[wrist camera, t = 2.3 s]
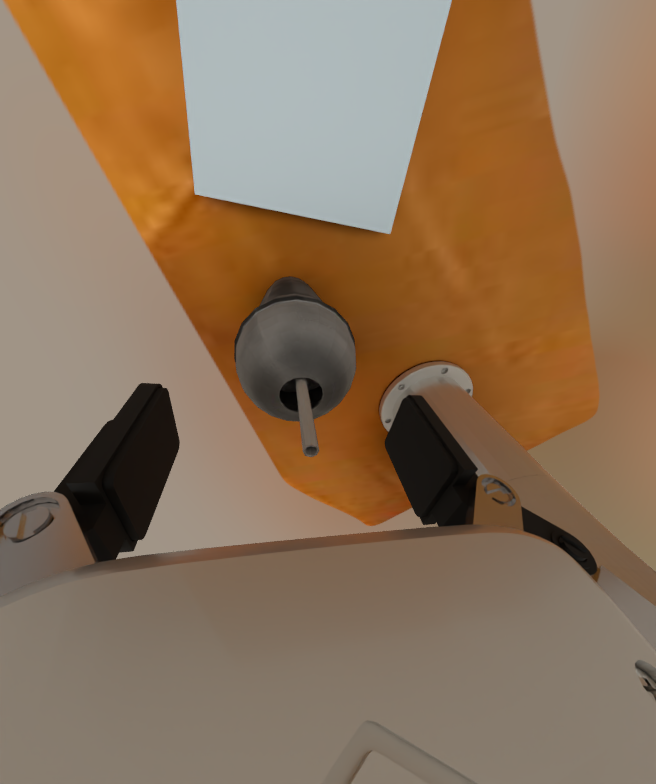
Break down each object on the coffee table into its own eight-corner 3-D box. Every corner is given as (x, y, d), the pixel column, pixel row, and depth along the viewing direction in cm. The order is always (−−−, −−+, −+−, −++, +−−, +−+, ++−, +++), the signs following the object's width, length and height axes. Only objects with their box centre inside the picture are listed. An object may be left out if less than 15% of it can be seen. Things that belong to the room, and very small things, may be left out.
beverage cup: (255, 337, 26) (217, 541, 10) (246, 257, 22) (159, 392, 6) (325, 336, 27) (390, 519, 11) (330, 261, 23) (442, 382, 7)
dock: (378, 231, 22) (390, 234, 20) (205, 195, 19) (194, 194, 17) (446, -55, 15) (479, -107, 12) (175, -191, 11) (147, -297, 9)
